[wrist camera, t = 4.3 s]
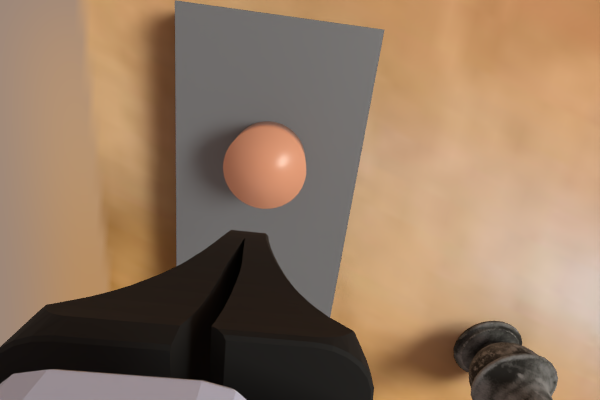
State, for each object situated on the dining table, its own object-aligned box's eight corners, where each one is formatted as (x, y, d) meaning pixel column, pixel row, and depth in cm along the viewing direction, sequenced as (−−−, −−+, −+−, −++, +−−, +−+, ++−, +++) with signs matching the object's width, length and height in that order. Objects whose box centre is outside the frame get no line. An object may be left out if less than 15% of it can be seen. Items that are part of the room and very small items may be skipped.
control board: (314, 364, 27) (315, 392, 25) (187, 354, 27) (177, 381, 24) (373, 34, 19) (384, 29, 16) (190, 9, 18) (174, 0, 16)
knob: (299, 183, 22) (300, 212, 17) (236, 176, 21) (221, 204, 17) (307, 120, 20) (311, 133, 16) (240, 111, 20) (225, 123, 16)
